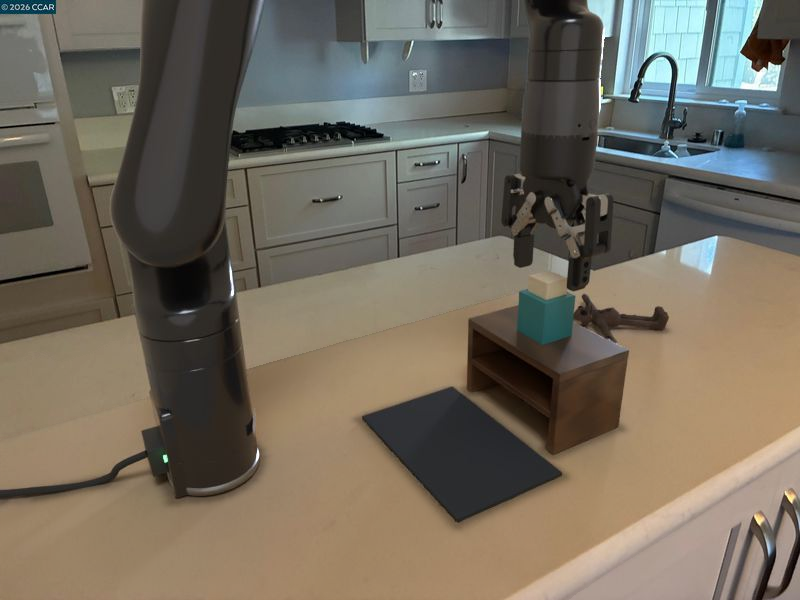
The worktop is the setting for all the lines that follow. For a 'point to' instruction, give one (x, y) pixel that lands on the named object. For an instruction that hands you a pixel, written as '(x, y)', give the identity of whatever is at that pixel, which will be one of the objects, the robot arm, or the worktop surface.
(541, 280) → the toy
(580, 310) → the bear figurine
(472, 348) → the shelf
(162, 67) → the robot arm
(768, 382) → the worktop surface
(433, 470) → the mat
